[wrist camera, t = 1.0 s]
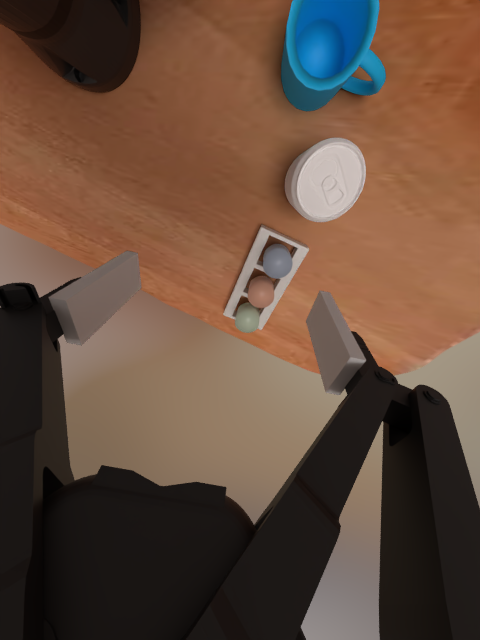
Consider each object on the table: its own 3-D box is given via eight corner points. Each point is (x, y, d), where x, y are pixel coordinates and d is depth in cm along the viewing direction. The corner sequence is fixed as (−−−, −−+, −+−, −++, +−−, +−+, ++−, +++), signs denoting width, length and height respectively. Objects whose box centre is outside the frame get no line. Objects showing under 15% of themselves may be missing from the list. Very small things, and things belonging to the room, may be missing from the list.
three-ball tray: (224, 308, 47) (223, 314, 45) (261, 224, 37) (261, 226, 35) (261, 323, 49) (261, 330, 47) (306, 245, 38) (309, 249, 36)
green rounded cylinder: (233, 316, 44) (231, 327, 41) (242, 299, 42) (240, 309, 39) (253, 324, 45) (253, 335, 42) (263, 307, 43) (263, 318, 39)
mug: (269, 93, 28) (270, 65, 21) (303, -4, 24) (318, -77, 17) (346, 137, 30) (370, 125, 23) (391, 54, 25) (437, 9, 19)
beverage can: (324, 134, 30) (353, 112, 20) (347, 188, 33) (382, 192, 23) (274, 176, 33) (278, 175, 23) (299, 221, 36) (312, 238, 26)
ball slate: (258, 264, 38) (258, 271, 35) (270, 239, 35) (271, 245, 32) (282, 274, 38) (283, 282, 35) (295, 250, 36) (298, 257, 33)
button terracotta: (245, 292, 41) (243, 302, 38) (255, 271, 39) (254, 280, 35) (266, 301, 42) (267, 311, 39) (277, 281, 39) (279, 290, 36)
